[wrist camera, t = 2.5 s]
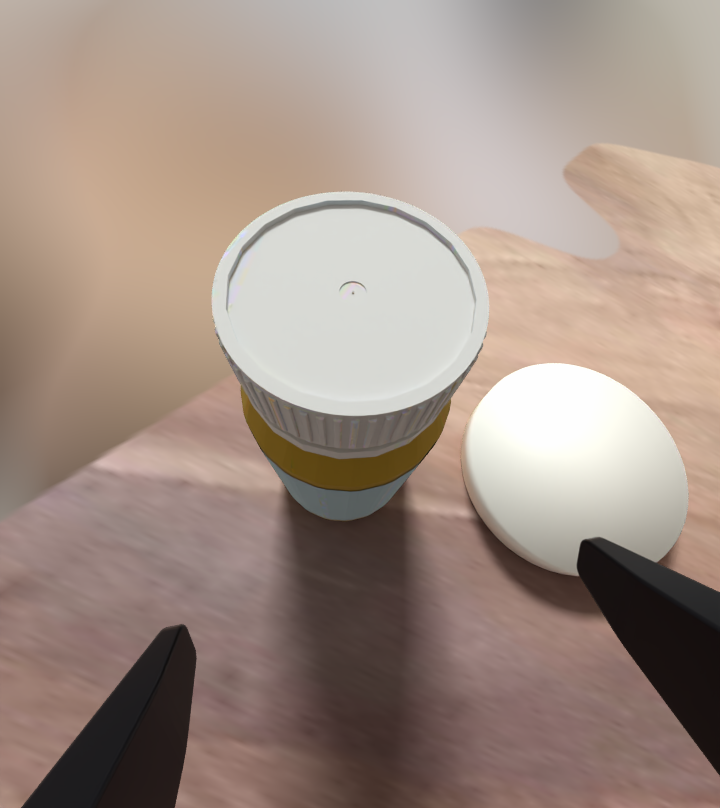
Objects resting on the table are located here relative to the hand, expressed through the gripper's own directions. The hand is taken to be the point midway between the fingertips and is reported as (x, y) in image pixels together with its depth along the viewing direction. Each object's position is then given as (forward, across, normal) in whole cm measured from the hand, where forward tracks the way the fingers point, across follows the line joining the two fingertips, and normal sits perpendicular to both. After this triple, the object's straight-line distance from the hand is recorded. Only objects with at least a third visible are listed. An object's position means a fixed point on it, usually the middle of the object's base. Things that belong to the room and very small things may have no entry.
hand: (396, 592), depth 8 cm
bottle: (+13, 0, +4) cm, 14 cm away
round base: (+11, -13, +6) cm, 18 cm away
